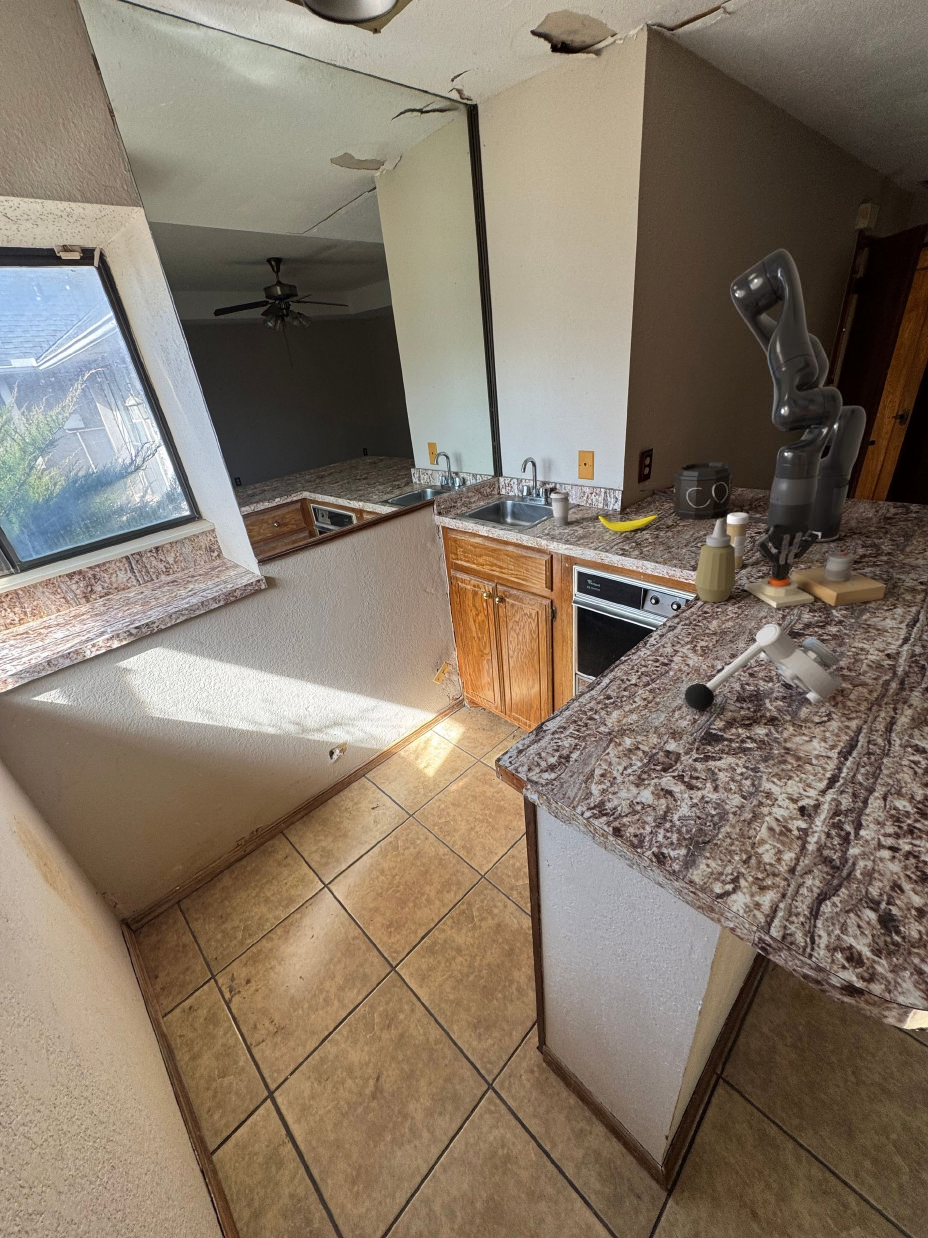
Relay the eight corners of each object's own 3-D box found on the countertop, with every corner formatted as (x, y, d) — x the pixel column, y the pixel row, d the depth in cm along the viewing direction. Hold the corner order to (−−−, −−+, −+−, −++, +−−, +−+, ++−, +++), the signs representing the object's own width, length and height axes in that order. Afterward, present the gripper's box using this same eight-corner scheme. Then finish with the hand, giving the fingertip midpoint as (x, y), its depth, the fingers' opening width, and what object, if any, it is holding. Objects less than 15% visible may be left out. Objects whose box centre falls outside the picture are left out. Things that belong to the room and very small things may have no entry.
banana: (657, 531, 154) (658, 512, 151) (596, 534, 161) (596, 515, 158) (657, 528, 157) (657, 509, 154) (597, 531, 163) (597, 513, 160)
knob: (840, 583, 99) (846, 559, 97) (819, 577, 103) (823, 554, 100) (854, 577, 100) (860, 553, 98) (832, 572, 104) (837, 549, 102)
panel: (790, 583, 109) (792, 570, 107) (833, 576, 109) (836, 563, 107) (833, 606, 97) (836, 592, 96) (882, 599, 97) (886, 584, 95)
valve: (722, 731, 83) (667, 681, 80) (820, 653, 78) (765, 596, 74) (757, 770, 74) (695, 716, 70) (870, 684, 68) (810, 621, 65)
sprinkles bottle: (719, 564, 124) (723, 513, 118) (737, 562, 124) (742, 510, 118) (727, 570, 120) (733, 517, 114) (746, 568, 119) (752, 515, 114)
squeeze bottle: (731, 590, 110) (739, 513, 102) (736, 605, 103) (745, 524, 95) (692, 590, 113) (697, 515, 105) (695, 605, 106) (700, 526, 98)
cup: (573, 522, 177) (572, 489, 172) (567, 527, 173) (565, 494, 167) (555, 521, 181) (554, 489, 176) (548, 526, 176) (546, 494, 171)
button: (765, 584, 105) (766, 576, 104) (781, 581, 105) (782, 574, 104) (775, 590, 102) (777, 582, 101) (792, 587, 102) (793, 580, 101)
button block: (744, 588, 110) (745, 576, 108) (778, 583, 110) (780, 571, 108) (775, 608, 100) (777, 595, 98) (813, 602, 100) (815, 589, 98)
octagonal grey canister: (742, 515, 156) (747, 466, 149) (686, 523, 157) (688, 474, 151) (716, 503, 172) (720, 458, 165) (666, 510, 174) (667, 466, 167)
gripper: (771, 507, 92) (759, 589, 100) (839, 496, 92) (822, 580, 99) (748, 499, 99) (738, 577, 106) (811, 489, 99) (797, 568, 106)
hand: (779, 578), depth 103 cm, fingers closed
